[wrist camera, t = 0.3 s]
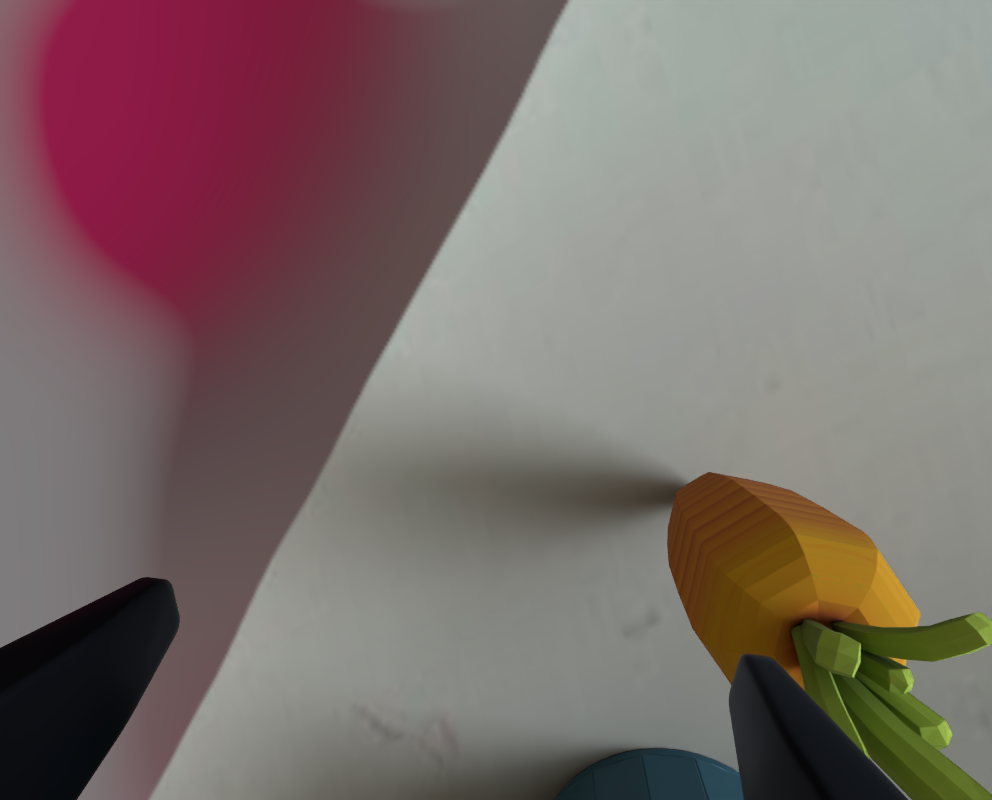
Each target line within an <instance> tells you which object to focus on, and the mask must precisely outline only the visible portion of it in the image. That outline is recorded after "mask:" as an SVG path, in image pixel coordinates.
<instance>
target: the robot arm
mask: <svg viewBox="0 0 992 800" xmlns="http://www.w3.org/2000/svg"><path fill="white" fill-rule="evenodd" d="M179 623H180V616H179V612H178V607H177V603H176V599H175V595H174V590H173V587H172V584H171V583H170V582H169V581H168V580H165V579H158V578H150V577H145V578H140V579H138V580H136V581H134V582H132V583H130V584H128V585H126V586H124V587H122V588H120V589H118V590H116V591H114V592H112V593H110V594H108V595H106V596H104V597H102V598H100V599H98V600H96V601H94V602H92V603H90V604H88V605H86V606H84V607H82V608H80V609H78V610H76V611H74V612H72V613H70V614H68V615H66V616H63V617H61V618H59V619H58V620H55V621H54V622H51V623H49V624H47V625H45V626H44V627H41V628H39V629H37V630H35V631H34V632H31V633H30V634H27V635H25V636H23V637H21V638H19V639H17V640H15V641H13V642H11V643H9V644H7V645H5V646H3V647H1V648H0V800H77V799H78V797H79V796H80V794H81V793H82V791H83V790H84V788H85V787H86V785H87V784H88V782H89V781H90V779H91V778H92V776H93V775H94V773H95V771H96V770H97V769H98V767H99V766H100V764H101V763H102V761H103V760H104V758H105V757H106V755H107V754H108V752H109V751H110V749H111V747H112V746H113V745H114V743H115V742H116V740H117V738H118V737H119V735H120V734H121V732H122V730H123V729H124V727H125V725H126V724H127V722H128V721H129V719H130V717H131V715H132V714H133V712H134V710H135V709H136V707H137V705H138V703H139V701H140V699H141V697H142V696H143V694H144V692H145V690H146V688H147V687H148V685H149V683H150V681H151V679H152V677H153V675H154V673H155V672H156V670H157V668H158V666H159V665H160V663H161V661H162V659H163V657H164V655H165V653H166V652H167V650H168V648H169V646H170V644H171V642H172V641H173V639H174V637H175V635H176V633H177V631H178V628H179ZM729 708H730V715H731V721H732V728H733V734H734V740H735V747H736V753H737V760H738V766H739V772H740V779H741V785H742V791H743V798H744V800H908V799H907V798H906V797H905V796H904V795H903V794H902V793H901V792H900V791H899V789H898V788H897V787H896V786H895V785H894V784H893V783H892V782H891V781H890V780H889V779H888V778H887V777H886V776H885V775H884V774H883V773H882V772H881V771H880V769H879V768H878V767H877V766H876V765H875V764H874V763H873V762H872V761H871V760H870V759H869V758H868V757H867V756H866V755H865V754H864V753H863V752H862V751H861V749H860V748H859V747H858V746H857V745H856V744H855V743H854V742H853V741H852V740H851V739H850V738H849V737H848V736H847V735H846V734H845V733H844V732H843V731H842V729H841V728H840V727H839V726H838V725H837V724H836V723H835V722H834V721H833V720H832V719H831V718H830V717H829V716H828V715H827V714H826V713H825V712H824V711H823V709H822V708H821V707H820V706H819V705H818V704H817V703H816V702H815V701H814V700H813V699H812V698H811V697H810V696H809V695H808V694H807V693H806V692H805V691H804V689H803V688H802V687H801V686H800V685H799V684H798V683H797V682H796V681H795V680H794V679H793V678H792V677H791V676H790V675H789V674H788V673H787V672H786V671H785V669H784V668H783V667H782V666H781V665H780V664H779V663H778V662H777V661H776V660H775V659H773V658H772V657H769V656H763V655H756V654H748V653H747V654H743V655H742V656H741V658H740V660H739V663H738V666H737V669H736V673H735V676H734V679H733V683H732V686H731V689H730V694H729Z"/></svg>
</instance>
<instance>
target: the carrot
mask: <svg viewBox="0 0 992 800" xmlns="http://www.w3.org/2000/svg"><path fill="white" fill-rule="evenodd" d="M667 546H668V560H669V566H670V569H671V572H672V575H673V578H674V581H675V584H676V587H677V590H678V593H679V596H680V598H681V601H682V603H683V606H684V608H685V611H686V613H687V616H688V618H689V620H690V623H691V625H692V628H693V630H694V631H695V633H696V634H697V636H698V637H699V639H700V640H701V642H702V643H703V644H704V646H705V647H706V649H707V650H708V652H709V653H710V654H711V656H712V657H713V659H714V660H715V662H716V663H717V665H718V666H719V667H720V669H721V670H722V672H723V673H724V675H725V676H726V678H727V679H728V680H729V682H730V683H731V685H732V683H733V679H734V676H735V673H736V669H737V666H738V663H739V660H740V658H741V656H742V655H743V654H747V653H748V654H756V655H763V656H769V657H772V658H773V659H775V660H776V661H777V662H778V663H779V664H780V665H781V666H782V667H783V668H784V669H785V671H786V672H787V673H788V674H789V675H790V676H791V677H792V678H793V679H794V680H795V681H796V682H797V683H798V684H799V685H800V686H801V687H802V688H803V689H804V691H805V692H806V693H807V694H808V695H809V696H810V697H811V698H812V699H813V700H814V701H815V702H816V703H817V704H818V705H819V706H820V707H821V708H822V709H823V711H824V712H825V713H826V714H827V715H828V716H829V717H830V718H831V719H832V720H833V721H834V722H835V723H836V724H837V725H838V726H839V727H840V728H841V729H842V731H843V732H844V733H845V734H846V735H847V736H848V737H849V738H850V739H851V740H852V741H853V742H854V743H855V744H856V745H857V746H858V747H859V748H860V749H861V751H862V752H863V753H864V754H865V755H866V756H867V757H868V758H869V759H870V757H871V758H872V759H873V761H874V762H875V763H876V764H877V765H878V766H879V767H880V768H881V769H882V770H883V771H884V772H885V773H886V774H887V775H888V776H889V777H890V778H891V779H892V780H893V781H894V782H895V783H896V784H897V785H898V786H899V787H900V788H901V789H902V790H903V791H904V792H905V793H906V794H907V795H908V796H909V797H910V798H911V799H912V800H992V794H990V793H989V792H988V791H987V790H986V789H984V788H983V787H982V786H981V785H980V784H979V783H977V782H976V781H975V780H974V779H973V778H971V777H970V776H969V775H968V774H967V773H965V772H964V771H963V770H962V769H961V768H959V767H958V766H957V765H956V764H954V763H953V762H952V761H951V760H949V759H948V758H947V757H946V756H944V755H943V754H942V753H940V752H939V750H941V749H943V748H945V747H947V746H948V744H949V742H950V739H951V737H952V732H951V730H950V728H949V726H948V724H947V722H946V720H945V719H944V718H942V717H941V716H940V715H938V714H937V713H936V712H934V711H933V710H931V709H930V708H929V707H927V706H926V705H925V704H923V703H922V702H921V701H919V700H918V699H917V698H915V697H914V696H913V695H911V694H910V693H909V692H910V691H911V689H912V686H913V684H914V679H913V677H912V674H911V671H910V669H909V668H908V667H906V666H905V665H906V662H907V660H919V661H932V662H934V661H939V660H944V659H948V658H952V657H956V656H960V655H964V654H968V653H972V652H975V651H978V650H980V649H982V648H984V647H987V646H989V645H991V644H992V620H990V619H989V618H988V617H987V616H985V615H984V614H983V613H981V612H977V613H973V614H969V615H965V616H961V617H957V618H953V619H950V620H946V621H943V622H940V623H937V624H934V625H931V626H918V627H917V625H918V622H919V619H920V616H921V614H920V612H919V611H918V609H917V607H916V606H915V604H914V603H913V601H912V600H911V598H910V597H909V595H908V594H907V592H906V591H905V589H904V588H903V586H902V585H901V583H900V582H899V580H898V579H897V577H896V576H895V574H894V573H893V571H892V570H891V568H890V567H889V565H888V564H887V562H886V561H885V559H884V558H883V556H882V555H881V553H880V552H879V550H878V549H877V547H876V546H875V544H874V543H873V541H872V540H871V539H870V538H869V537H868V536H867V535H866V534H865V533H864V532H863V531H861V530H859V529H858V528H856V527H854V526H853V525H851V524H850V523H848V522H846V521H845V520H843V519H841V518H840V517H838V516H836V515H835V514H833V513H831V512H830V511H828V510H826V509H825V508H823V507H821V506H819V505H817V504H816V503H814V502H812V501H810V500H808V499H806V498H804V497H803V496H801V495H799V494H797V493H795V492H793V491H791V490H787V489H784V488H781V487H777V486H774V485H770V484H766V483H762V482H757V481H753V480H748V479H743V478H737V477H732V476H727V475H722V474H717V473H711V472H708V473H706V474H704V475H702V476H700V477H698V478H697V479H695V480H693V481H692V482H690V483H689V484H687V485H685V486H684V487H682V488H681V489H679V490H678V491H677V492H676V495H675V499H674V503H673V508H672V512H671V517H670V521H669V525H668V542H667ZM868 754H869V755H868ZM869 756H870V757H869ZM870 760H871V759H870Z"/></svg>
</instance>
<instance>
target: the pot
mask: <svg viewBox="0 0 992 800" xmlns="http://www.w3.org/2000/svg"><path fill="white" fill-rule="evenodd" d="M555 800H744V798H743V791H742V785H741V779H740V773H739V772H737V771H735V770H734V769H732V768H730V767H728V766H726V765H724V764H722V763H720V762H718V761H716V760H713V759H711V758H708V757H705V756H702V755H699V754H695V753H690V752H686V751H681V750H672V749H644V750H636V751H630V752H626V753H622V754H618V755H614V756H612V757H609V758H607V759H604V760H602V761H599V762H598V763H596V764H594V765H592V766H590V767H588V768H587V769H585V770H584V771H582V772H581V773H580V774H578V775H577V776H576V777H574V778H573V779H572V780H571V781H570V782H569V783H568V784H567V785H566V786H565V787H564V788H563V789H562V791H561V792H560V793H559V794H558V796H557V797H556V798H555Z"/></svg>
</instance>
